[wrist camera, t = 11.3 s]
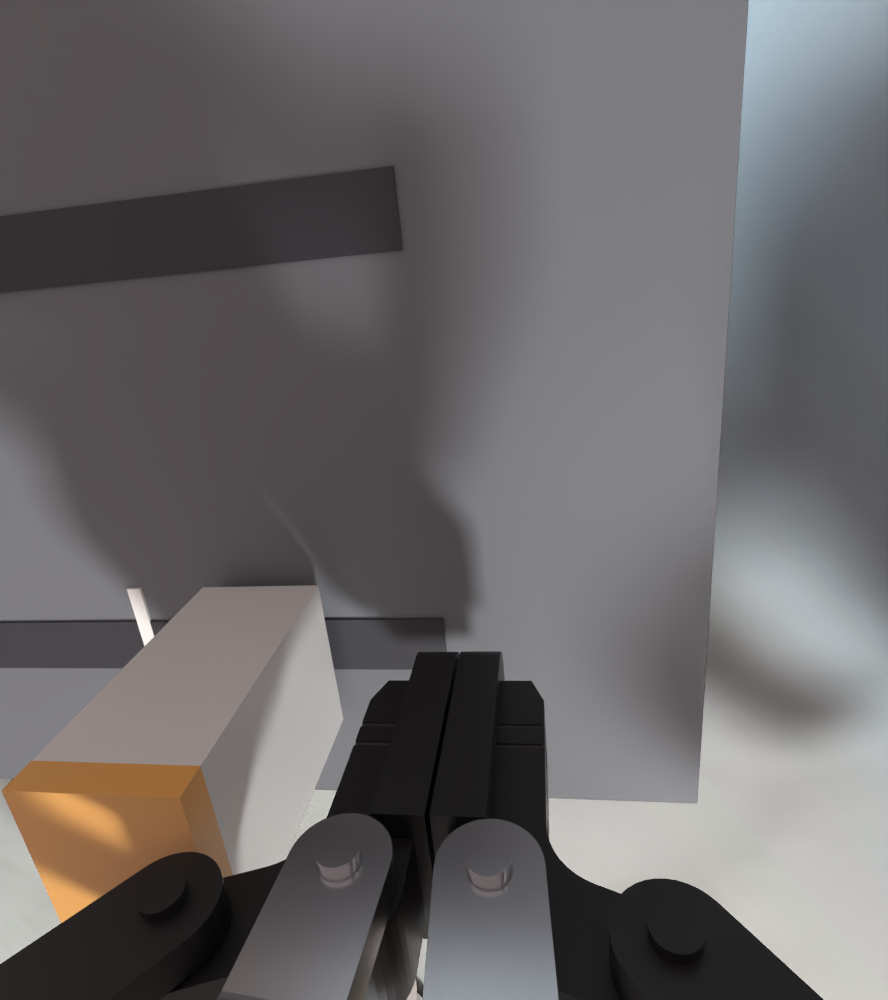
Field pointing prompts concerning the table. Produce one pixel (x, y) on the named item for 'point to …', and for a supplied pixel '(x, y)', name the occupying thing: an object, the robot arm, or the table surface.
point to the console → (372, 347)
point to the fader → (188, 748)
